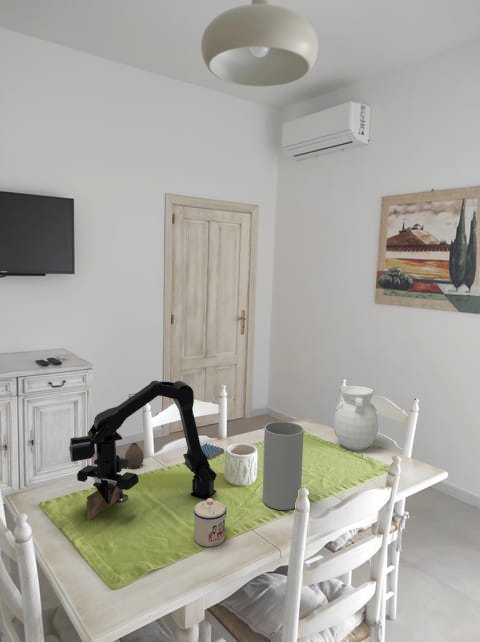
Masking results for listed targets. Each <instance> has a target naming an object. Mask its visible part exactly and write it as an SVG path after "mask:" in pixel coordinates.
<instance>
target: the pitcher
mask: <svg viewBox="0 0 480 642" xmlns="http://www.w3.org/2000/svg"><path fill="white" fill-rule="evenodd" d="M340 393H341V396H342V399H341V401H340V402H339V403H338V405H337V406H336V407H335V413H334V417H333V418H334V419H333V432H334V434H335V436H336V438H337V439H338V441H339V443H341V444H342V445H343V446H344V447H345V448H346V449H347V450H352V451H364V450H367V448H368V447H369V446H371V445H372V444H373V442H374V441H375V439H376V437H377V435H378V429H379V421H378V414H377V408H376V407H375V405H374V404H373V403H371V402H370V401H371V400H372V398H373V395H374V390H373V389H372V388H369V387H366V386H362V385H361V386H360V385H345V386H342V387H341V388H340Z"/></svg>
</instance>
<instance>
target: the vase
mask: <svg viewBox="0 0 480 642" xmlns="http://www.w3.org/2000/svg"><path fill="white" fill-rule="evenodd" d="M124 458H127V459H129V460H128V468H131V469H137V468H139V467H140V466H141V465H142V464H143V462H144V458H145V457H144V451H143V450H142V448H141V447H140V446H139V444H138V443H137V442H132V443H131V444H130V446H129V447H128V448H127V449H126V452H125V454H124Z"/></svg>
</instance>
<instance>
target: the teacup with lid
mask: <svg viewBox="0 0 480 642" xmlns="http://www.w3.org/2000/svg"><path fill="white" fill-rule="evenodd" d="M227 513H228V508H227V507H226V506H225V505H224V504H223V503H222V502H220V501H217V500H214V499H213V498H211V497H210V498H208V499H205V500H203V501H200V502H198V503H197V504H196V505H195V506H194V508H193V514H194V518H193V520H194V523H193V524H194V525H193V528H194V529H193V531H194V532H193V533H194V534H193V538H194V541H195V542H196V543H197V544H198V545H200V546H202V547H215V546H216V547H217V546H218V545H220V544H222V543H223V542H224V540H225V537H226V533H225V532H226V531H225V530H226V517H227Z"/></svg>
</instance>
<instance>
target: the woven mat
mask: <svg viewBox="0 0 480 642" xmlns="http://www.w3.org/2000/svg"><path fill="white" fill-rule="evenodd" d="M201 448H202V450H203V452H204V454H205V456H206V458H207V460H208V461H212V460H213V459H215V458H217V457H218V456H219V455H222V454H224V453H225V449H224V448H223V447H220V446H217V445H213V444H210V443H209V444H208V443H204V444H203V445H202V444H201Z"/></svg>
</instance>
